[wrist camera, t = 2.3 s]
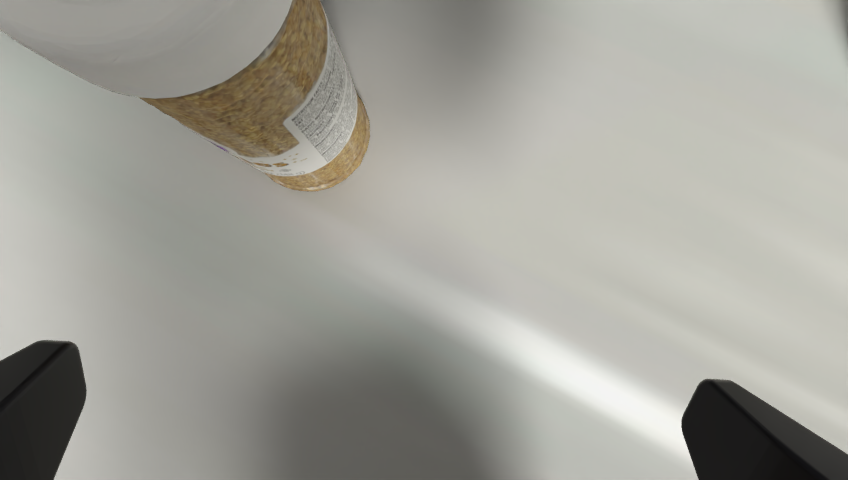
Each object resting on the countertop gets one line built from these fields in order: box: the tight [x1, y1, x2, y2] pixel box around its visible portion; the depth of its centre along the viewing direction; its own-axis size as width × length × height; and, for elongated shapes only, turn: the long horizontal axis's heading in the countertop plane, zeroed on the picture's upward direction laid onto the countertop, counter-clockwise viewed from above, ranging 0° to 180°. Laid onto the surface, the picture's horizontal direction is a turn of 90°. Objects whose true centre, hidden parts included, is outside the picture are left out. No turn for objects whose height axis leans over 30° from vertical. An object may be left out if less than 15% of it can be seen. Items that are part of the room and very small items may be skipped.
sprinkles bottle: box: [0, 0, 370, 191], centre depth 14 cm, size 5×5×14 cm
